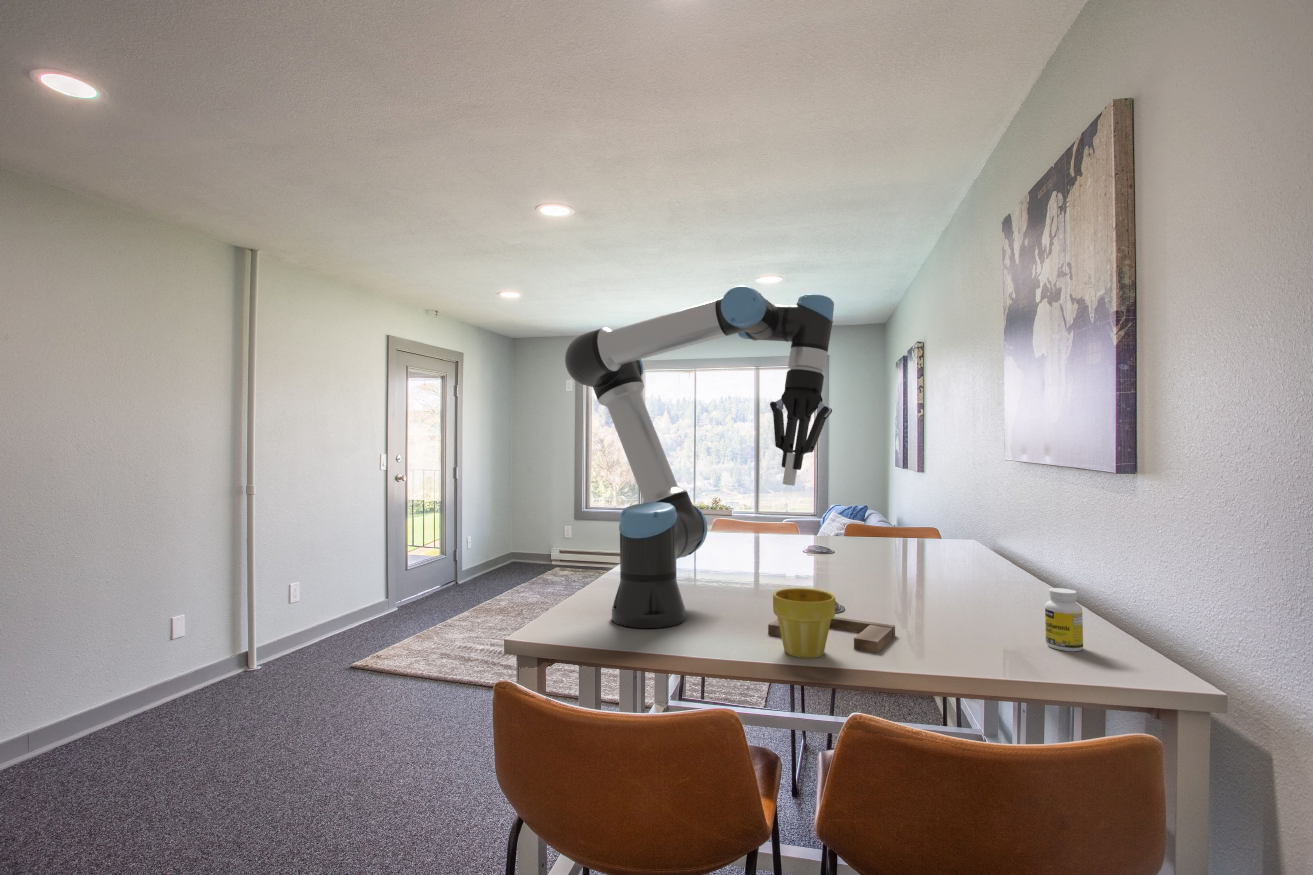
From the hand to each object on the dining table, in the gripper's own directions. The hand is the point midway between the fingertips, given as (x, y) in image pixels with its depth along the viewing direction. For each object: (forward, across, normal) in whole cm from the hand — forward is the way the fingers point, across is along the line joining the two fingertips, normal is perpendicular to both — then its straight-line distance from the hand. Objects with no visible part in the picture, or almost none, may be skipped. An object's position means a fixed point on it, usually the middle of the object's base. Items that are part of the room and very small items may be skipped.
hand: (788, 484), depth 126 cm
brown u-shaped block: (+26, -14, +4) cm, 30 cm away
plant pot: (+27, -14, +16) cm, 35 cm away
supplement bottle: (+20, -50, -12) cm, 55 cm away
